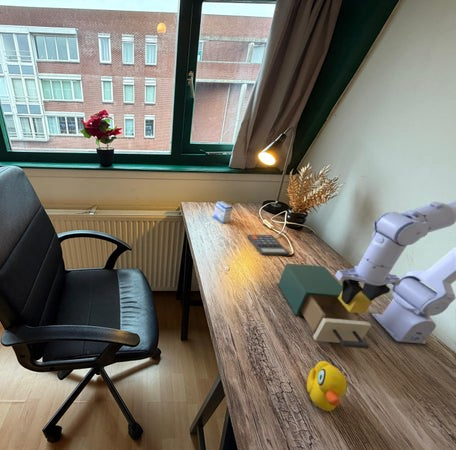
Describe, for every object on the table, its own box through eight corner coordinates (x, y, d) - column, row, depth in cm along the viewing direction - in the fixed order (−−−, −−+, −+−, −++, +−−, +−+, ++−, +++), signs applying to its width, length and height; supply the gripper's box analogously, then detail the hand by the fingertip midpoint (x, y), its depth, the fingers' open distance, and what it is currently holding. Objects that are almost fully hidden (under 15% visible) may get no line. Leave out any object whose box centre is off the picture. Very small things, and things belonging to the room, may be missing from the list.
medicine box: (213, 216, 131) (216, 201, 127) (219, 215, 133) (223, 200, 129) (222, 223, 125) (225, 207, 121) (229, 221, 127) (233, 206, 123)
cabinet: (338, 318, 73) (351, 296, 69) (295, 315, 73) (306, 292, 69) (314, 287, 85) (324, 266, 81) (278, 284, 85) (286, 263, 81)
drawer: (370, 360, 61) (385, 341, 57) (324, 356, 61) (336, 337, 57) (331, 308, 76) (340, 290, 72) (293, 305, 76) (301, 287, 72)
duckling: (335, 434, 47) (358, 406, 43) (304, 418, 49) (322, 390, 45) (330, 382, 56) (349, 354, 52) (304, 370, 58) (319, 342, 54)
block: (364, 313, 64) (372, 302, 62) (349, 312, 64) (356, 301, 62) (352, 299, 68) (358, 288, 66) (337, 298, 68) (343, 287, 67)
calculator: (272, 234, 115) (289, 253, 102) (271, 236, 115) (288, 254, 102) (248, 234, 114) (262, 252, 101) (247, 235, 114) (261, 254, 101)
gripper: (394, 253, 63) (369, 293, 69) (337, 249, 63) (318, 289, 69) (419, 271, 56) (389, 313, 63) (356, 266, 57) (332, 308, 63)
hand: (353, 302), depth 65 cm, fingers closed on block, 4 cm apart
